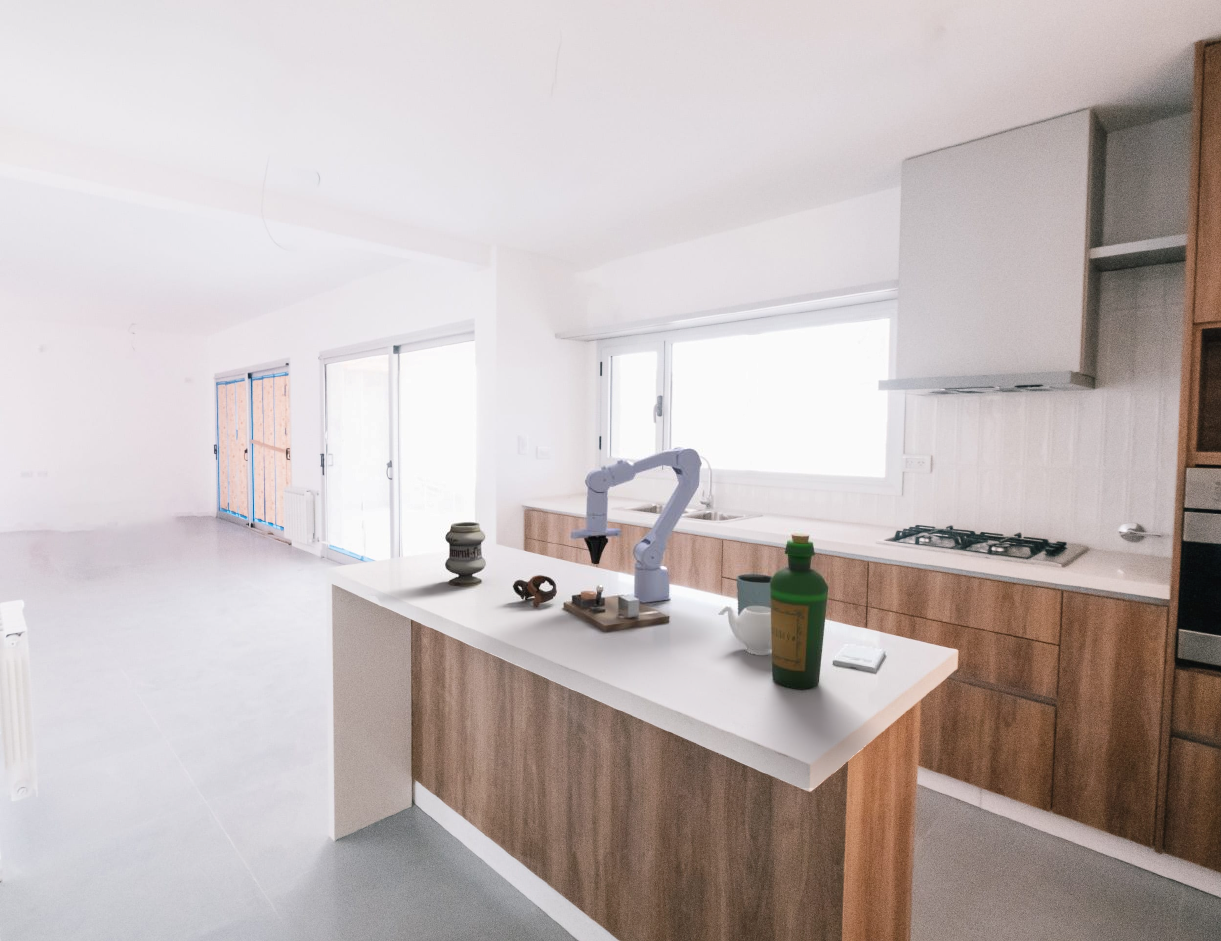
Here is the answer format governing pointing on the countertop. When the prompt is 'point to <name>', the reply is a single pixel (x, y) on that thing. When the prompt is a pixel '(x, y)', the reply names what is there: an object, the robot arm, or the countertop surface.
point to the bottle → (797, 617)
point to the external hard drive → (859, 657)
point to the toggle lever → (598, 596)
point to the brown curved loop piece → (535, 589)
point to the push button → (588, 595)
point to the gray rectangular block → (628, 606)
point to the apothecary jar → (465, 553)
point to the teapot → (752, 628)
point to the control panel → (612, 613)
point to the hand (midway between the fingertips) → (595, 563)
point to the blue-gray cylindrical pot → (753, 591)
